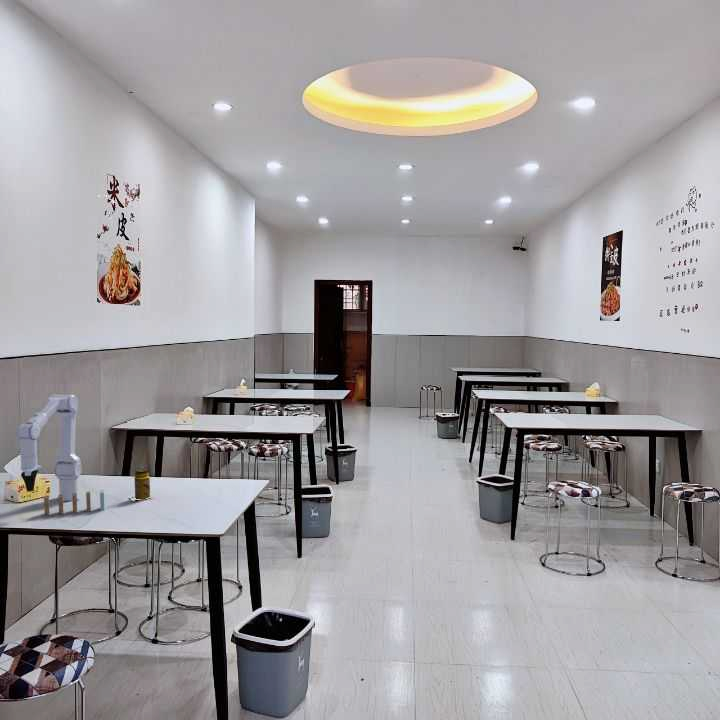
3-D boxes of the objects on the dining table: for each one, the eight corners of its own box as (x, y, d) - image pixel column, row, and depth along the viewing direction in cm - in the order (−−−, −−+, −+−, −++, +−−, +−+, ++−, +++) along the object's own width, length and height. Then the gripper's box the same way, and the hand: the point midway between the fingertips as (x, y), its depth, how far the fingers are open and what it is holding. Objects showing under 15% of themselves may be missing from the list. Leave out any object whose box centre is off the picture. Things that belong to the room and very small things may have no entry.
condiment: (153, 498, 294) (152, 470, 294) (132, 502, 290) (131, 473, 289) (147, 495, 301) (147, 467, 300) (127, 498, 296) (126, 470, 295)
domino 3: (73, 510, 278) (72, 493, 278) (77, 510, 279) (76, 492, 278) (72, 513, 274) (72, 495, 274) (76, 513, 274) (76, 495, 274)
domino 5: (100, 507, 282) (99, 490, 281) (104, 507, 282) (103, 490, 282) (100, 510, 277) (99, 493, 277) (104, 510, 278) (103, 492, 277)
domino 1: (45, 513, 275) (44, 495, 274) (49, 512, 275) (48, 495, 275) (44, 516, 271) (44, 498, 270) (48, 515, 271) (48, 497, 271)
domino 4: (86, 509, 280) (86, 491, 279) (90, 508, 280) (90, 491, 280) (86, 512, 276) (86, 494, 275) (90, 511, 276) (89, 494, 276)
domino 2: (59, 511, 276) (58, 494, 276) (63, 511, 277) (62, 493, 276) (58, 514, 272) (58, 497, 272) (62, 514, 273) (62, 496, 272)
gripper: (39, 458, 264) (40, 493, 265) (41, 451, 278) (43, 485, 279) (18, 459, 262) (19, 495, 262) (21, 452, 275) (23, 487, 276)
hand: (30, 490), depth 270 cm, fingers closed
